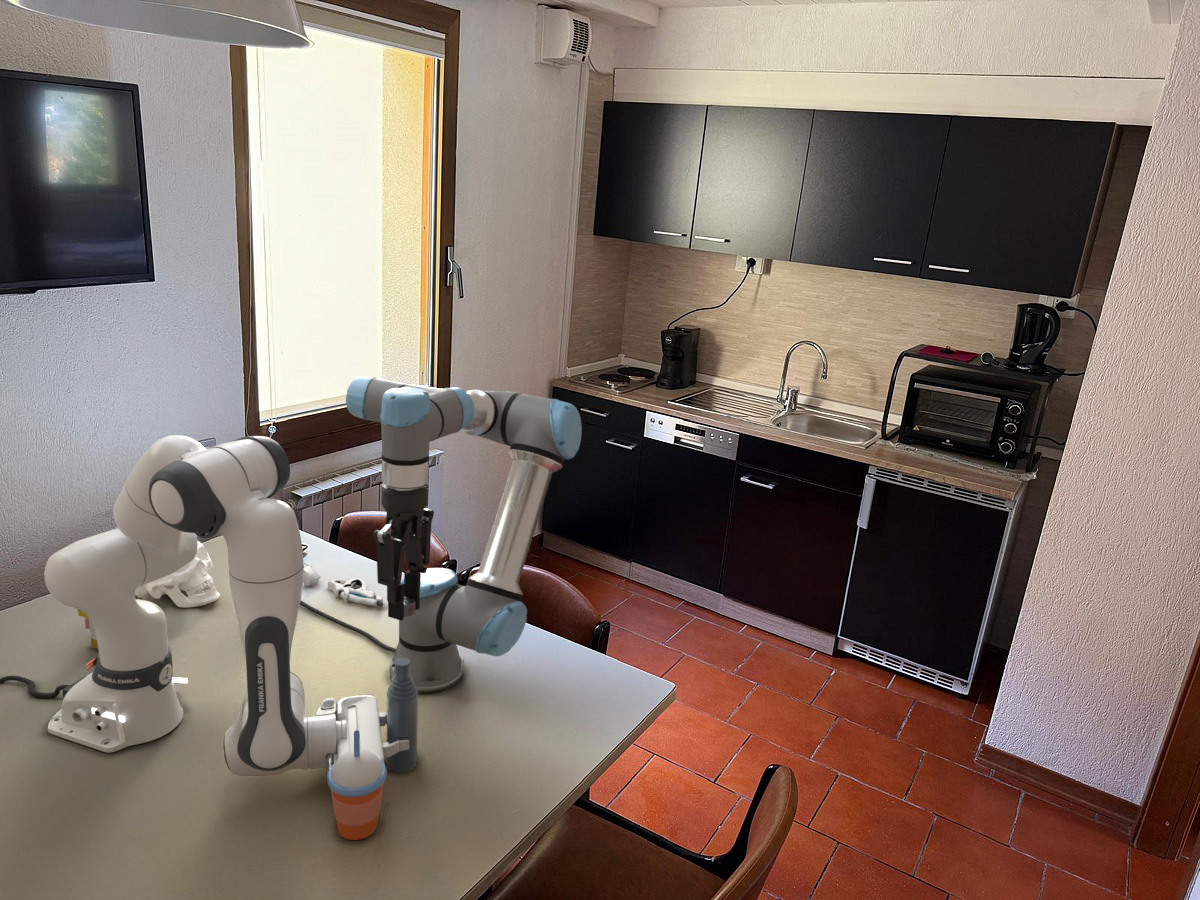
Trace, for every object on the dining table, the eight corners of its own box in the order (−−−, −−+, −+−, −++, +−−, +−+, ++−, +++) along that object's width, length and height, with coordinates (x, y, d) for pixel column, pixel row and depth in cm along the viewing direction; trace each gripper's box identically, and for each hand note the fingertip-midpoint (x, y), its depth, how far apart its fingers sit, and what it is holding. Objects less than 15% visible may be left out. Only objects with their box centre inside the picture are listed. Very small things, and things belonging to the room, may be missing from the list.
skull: (199, 617, 197) (196, 553, 193) (122, 598, 203) (118, 535, 198) (238, 594, 209) (237, 534, 205) (165, 577, 215) (162, 518, 211)
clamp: (253, 565, 223) (254, 542, 221) (265, 560, 226) (266, 537, 224) (309, 593, 215) (310, 569, 213) (320, 588, 218) (321, 564, 216)
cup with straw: (370, 852, 133) (370, 755, 128) (317, 840, 135) (314, 743, 130) (395, 813, 142) (396, 720, 137) (345, 802, 144) (343, 710, 138)
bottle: (387, 753, 157) (387, 653, 150) (417, 752, 158) (418, 653, 152) (385, 772, 152) (386, 670, 145) (416, 771, 153) (418, 669, 146)
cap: (408, 618, 144) (408, 607, 143) (388, 614, 145) (388, 602, 144) (419, 609, 147) (419, 597, 146) (399, 604, 148) (399, 593, 147)
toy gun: (401, 592, 212) (372, 604, 203) (400, 601, 212) (371, 613, 204) (347, 571, 220) (317, 582, 212) (347, 580, 221) (317, 592, 212)
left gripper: (326, 763, 138) (413, 752, 143) (325, 692, 157) (402, 684, 161) (327, 796, 140) (412, 784, 145) (325, 722, 159) (401, 713, 163)
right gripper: (416, 465, 148) (415, 587, 155) (352, 493, 133) (353, 627, 140) (453, 474, 145) (450, 598, 152) (391, 503, 130) (391, 639, 137)
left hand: (407, 731), depth 153 cm, fingers closed on bottle, 5 cm apart
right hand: (404, 612), depth 146 cm, fingers closed on cap, 4 cm apart
